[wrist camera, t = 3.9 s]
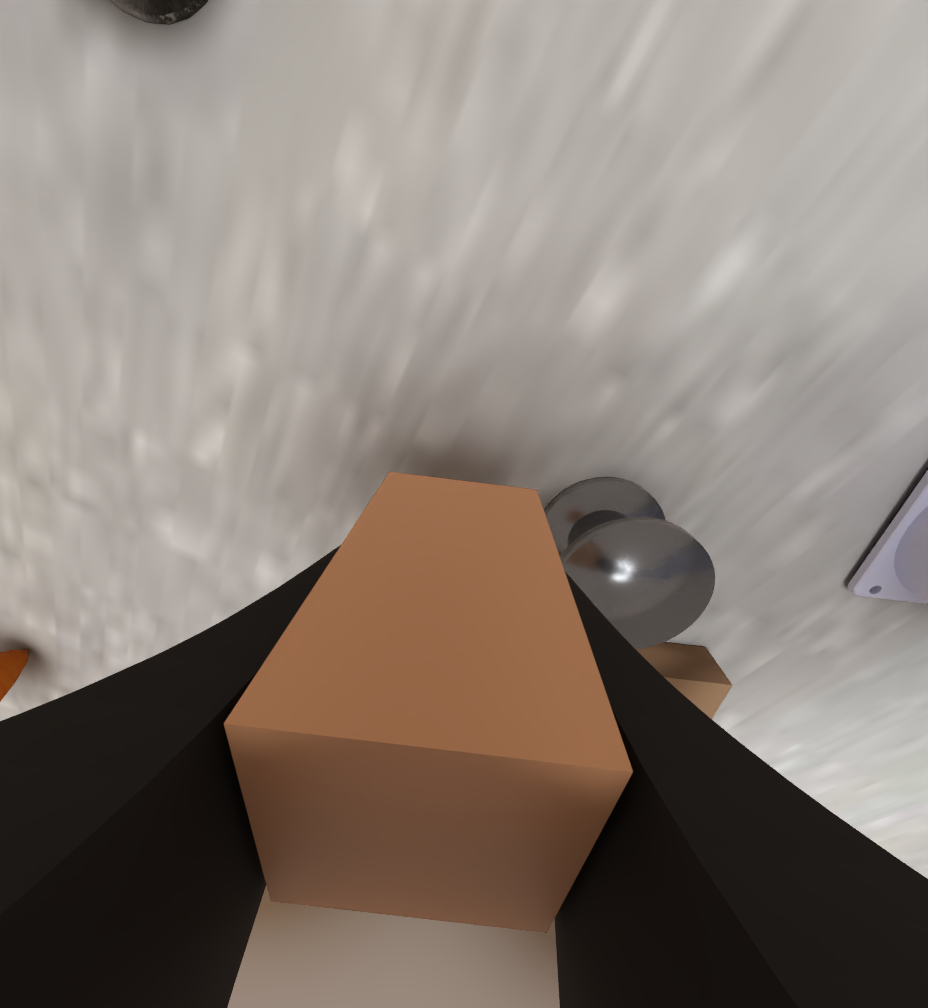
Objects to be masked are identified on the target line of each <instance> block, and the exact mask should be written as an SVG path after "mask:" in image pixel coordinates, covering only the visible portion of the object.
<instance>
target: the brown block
mask: <svg viewBox="0 0 928 1008" xmlns="http://www.w3.org/2000/svg"><path fill="white" fill-rule="evenodd" d="M224 727H225V731H226V735H227V739H228V742H229V746H230V750H231V754H232V757H233V761H234V765H235V769H236V772H237V776H238V780H239V784H240V787H241V791H242V795H243V799H244V802H245V806H246V810H247V814H248V817H249V821H250V825H251V829H252V832H253V836H254V840H255V844H256V847H257V851H258V855H259V859H260V862H261V866H262V870H263V874H264V877H265V881H266V885H267V889H268V892H269V896H270V900H271V901H273V902H282V903H291V904H300V905H308V906H317V907H326V908H334V909H343V910H352V911H361V912H369V913H378V914H387V915H395V916H404V917H413V918H422V919H431V920H440V921H448V922H457V923H467V924H474V925H483V926H493V927H501V928H509V929H518V930H527V931H536V932H544V933H547V931H548V930H549V927H550V926H551V923H552V922H553V920H554V918H555V917H556V915H557V913H558V911H559V909H560V907H561V905H562V903H563V902H564V900H565V898H566V896H567V894H568V892H569V890H570V889H571V887H572V885H573V883H574V881H575V879H576V877H577V876H578V874H579V872H580V870H581V868H582V866H583V864H584V863H585V861H586V859H587V857H588V855H589V853H590V851H591V849H592V848H593V846H594V844H595V842H596V840H597V838H598V836H599V835H600V833H601V831H602V829H603V827H604V825H605V823H606V822H607V820H608V818H609V816H610V814H611V812H612V810H613V809H614V807H615V805H616V803H617V801H618V799H619V797H620V795H621V794H622V792H623V790H624V788H625V786H626V784H627V782H628V781H629V779H630V777H631V775H632V773H633V770H632V767H631V764H630V761H629V758H628V755H627V753H626V750H625V747H624V744H623V741H622V738H621V735H620V732H619V729H618V726H617V723H616V720H615V717H614V714H613V712H612V709H611V706H610V703H609V700H608V697H607V694H606V691H605V688H604V685H603V682H602V679H601V676H600V673H599V671H598V668H597V665H596V662H595V659H594V656H593V653H592V650H591V647H590V644H589V641H588V638H587V635H586V632H585V630H584V627H583V624H582V621H581V618H580V615H579V612H578V609H577V606H576V603H575V600H574V597H573V594H572V591H571V588H570V586H569V583H568V580H567V577H566V574H565V571H564V568H563V565H562V562H561V559H560V556H559V553H558V550H557V547H556V545H555V542H554V539H553V536H552V533H551V530H550V527H549V524H548V521H547V518H546V515H545V512H544V509H543V506H542V504H541V501H540V498H539V495H538V492H537V490H534V489H526V488H518V487H510V486H502V485H493V484H485V483H477V482H469V481H461V480H453V479H445V478H437V477H428V476H420V475H412V474H404V473H396V472H389V474H388V475H387V477H386V478H385V480H384V481H383V483H382V484H381V486H380V487H379V489H378V490H377V492H376V493H375V495H374V496H373V498H372V499H371V501H370V502H369V504H368V505H367V507H366V508H365V510H364V511H363V513H362V515H361V516H360V518H359V519H358V521H357V522H356V524H355V525H354V527H353V528H352V530H351V531H350V533H349V534H348V536H347V537H346V539H345V540H344V542H343V543H342V545H341V546H340V548H339V549H338V551H337V552H336V554H335V555H334V557H333V559H332V560H331V562H330V563H329V565H328V566H327V568H326V569H325V571H324V572H323V574H322V575H321V577H320V578H319V580H318V581H317V583H316V584H315V586H314V587H313V589H312V590H311V592H310V593H309V595H308V596H307V598H306V599H305V601H304V603H303V604H302V606H301V607H300V609H299V610H298V612H297V613H296V615H295V616H294V618H293V619H292V621H291V622H290V624H289V625H288V627H287V628H286V630H285V631H284V633H283V634H282V636H281V637H280V639H279V640H278V642H277V643H276V645H275V647H274V648H273V650H272V651H271V653H270V654H269V656H268V657H267V659H266V660H265V662H264V663H263V665H262V666H261V668H260V669H259V671H258V672H257V674H256V675H255V677H254V678H253V680H252V681H251V683H250V684H249V686H248V687H247V689H246V691H245V692H244V694H243V695H242V697H241V698H240V700H239V701H238V703H237V704H236V706H235V707H234V709H233V710H232V712H231V713H230V715H229V716H228V718H227V719H226V721H225V722H224Z"/></svg>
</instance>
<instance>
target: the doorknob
mask: <svg viewBox="0 0 928 1008" xmlns="http://www.w3.org/2000/svg"><path fill="white" fill-rule="evenodd" d="M544 512H545V515H546V518H547V521H548V524H549V527H550V530H551V533H552V536H553V539H554V542H555V545H556V547H557V550H558V553H559V556H560V559H561V562H562V565H563V568H564V571H565V572H566V573H567V574H568V575H569V576H570V577H571V578H572V580H573V581H574V582H575V583H576V584H577V585H578V586H579V588H580V589H581V590H582V591H583V592H584V593H585V595H586V596H587V597H588V598H589V599H590V600H591V601H592V603H593V604H594V605H595V606H596V607H597V608H598V609H599V611H600V612H601V613H602V614H603V615H604V616H605V617H606V618H607V619H608V621H609V622H610V623H611V624H612V625H613V626H614V627H615V628H616V629H617V630H618V631H619V633H620V634H621V635H622V636H623V637H624V638H625V639H626V640H627V641H628V642H629V643H630V644H631V645H632V646H633V647H634V648H635V649H642V648H647V647H651V646H654V645H657V644H660V643H662V642H665V641H667V640H669V639H671V638H673V637H675V636H676V635H678V634H680V633H681V632H683V631H684V630H685V629H687V628H688V627H689V626H690V625H692V624H693V623H694V622H695V621H696V620H697V619H698V618H699V616H700V615H701V614H702V612H703V611H704V610H705V608H706V606H707V605H708V603H709V601H710V599H711V596H712V593H713V589H714V584H715V572H714V567H713V563H712V561H711V559H710V557H709V555H708V553H707V552H706V550H705V549H704V548H703V546H702V545H701V544H700V543H699V542H698V541H697V540H696V539H694V538H693V537H692V536H691V535H690V534H689V533H688V532H687V531H685V530H684V529H682V528H681V527H679V526H677V525H675V524H673V523H671V522H668V521H665V517H664V514H663V511H662V509H661V507H660V506H659V504H658V503H657V502H656V500H655V499H654V498H653V497H652V496H651V495H650V494H649V493H648V492H646V491H645V490H644V489H643V488H641V487H640V486H638V485H637V484H635V483H633V482H630V481H627V480H624V479H620V478H613V477H600V478H593V479H588V480H585V481H582V482H579V483H577V484H574V485H572V486H570V487H569V488H567V489H565V490H564V491H562V492H561V493H560V494H558V495H557V496H556V497H555V498H554V499H553V500H552V501H551V502H550V503H549V505H548V506H547V507H546V509H545V510H544Z"/></svg>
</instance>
